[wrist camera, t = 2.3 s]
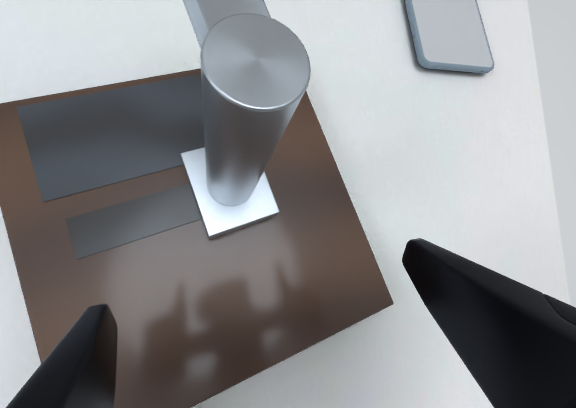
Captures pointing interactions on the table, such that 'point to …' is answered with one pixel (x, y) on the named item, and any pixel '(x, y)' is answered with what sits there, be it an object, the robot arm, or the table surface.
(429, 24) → the smartphone
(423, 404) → the table surface
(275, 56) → the tap
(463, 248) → the table surface
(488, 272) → the robot arm
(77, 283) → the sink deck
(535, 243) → the table surface
